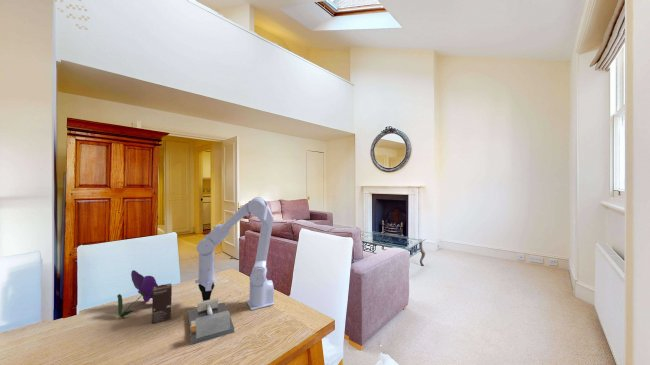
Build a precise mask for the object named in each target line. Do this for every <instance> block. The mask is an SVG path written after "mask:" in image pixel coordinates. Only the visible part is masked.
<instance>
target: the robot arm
mask: <svg viewBox="0 0 650 365" xmlns="http://www.w3.org/2000/svg"><path fill="white" fill-rule="evenodd" d="M269 206H270V205H269V204H268V202H267V201H266V200H265V199H264V198H262V197H260V196H256V197H254V198H252V199H251V200H250V201H248V202H247V203H245V204H244V205H242V206H241V207H240V208H239V209H238V210H237V211H236V212H234V214H233V215H232V216H230V217H229V218H228V220H226V221H225V223H219V224H215V225H214V226H213V227H212V228H213V229H212V230H211V231H210V232H208V234H205V235H204V238H202V240H199V242H198V244H197V245H196V251H197V253H198V279H195V281H194V282H195V284H197V286H198V289H199V291H200V293H201V297H202V301H206V300H210V299H211V297H212V293H213V290H214V288H215V286H216V285H215V280H216V277H215V248H216V247H217V246H218V245H220V244H221V243H222V242H223V241H224V240H225V239H226V238H227V237H228V236H229V235H230V232H231V230H230V229H232V228H233V226H235V225H236V224H237V223H238V222H239V221H241V220H242V218H244V217H248V216H250V215H251V214H252V215H253V216H255V217H257V219H258V220H259V222H261V225H260V232H259V238H258V242H257V243H258V244H257V250H256V255H255V259H254V260H255V261H254V265H253V266H252V269H251V273H250V275H249V299H247V300H246V303H247V305H248V307H249V310H251V311H254V310H257V309H262V308H265V307H270V306H274V305H275V301H274V299H275V298H274V297H275V296H274V293H275V290H274V289H275V288H274V283H273V280H272V279H268V278H267V273H268V267H267V259H268V253H269V248H270V241H271V236H272V230H273V224H274V215H273V213H272V211H271V209H270V207H269Z"/></svg>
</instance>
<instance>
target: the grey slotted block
mask: <svg viewBox="0 0 650 365" xmlns="http://www.w3.org/2000/svg"><path fill="white" fill-rule="evenodd" d="M218 304H219V298H218V297H215V298H212V299H211V298H210V300H206V301H203V300H201V301H197V308H198V312H199V311H204V310H207V314H208V315H211V314H213V313H212V308H217V307H218Z"/></svg>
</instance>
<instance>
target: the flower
mask: <svg viewBox="0 0 650 365" xmlns="http://www.w3.org/2000/svg"><path fill="white" fill-rule="evenodd" d="M130 273H131V274H130V275H131V276H130V278H131V281H132V283H133V286H134V288H135V289H136V290H137V293H138V294H140V296H139V297H138V298H137V299H136V300H135V301H133V303H131V304H130V305H129V306H128V308H127V309H125V310H124V311H123V307H124V306H123V304H124V302H123V296H122V294H121V293H119V294H117V295H116V296H117V297H116V298H117V307H118V308H117V311H118V315H119V316H120V317H122V318H123V317H125V316H127V315H130V314H132V313H133V312H134V310H128V309H130V308H131V306H132V305H133V304H135V303H136V302H138V300H140V298H141V297H142V299H143V301H144V302H149V301H150V300H151V299H152V289H153V287H154V286H159V284H158V283H157V281H156V278H155V277H154V276H152V275H145V276H144V275H143V274H141V273H139V272H138V271H137V270H135V269H133V270H131V272H130Z"/></svg>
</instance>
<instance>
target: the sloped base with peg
mask: <svg viewBox="0 0 650 365" xmlns="http://www.w3.org/2000/svg"><path fill="white" fill-rule="evenodd" d="M187 313H188V315H187V316H188V326H189V327H188V328H189V338H190V339H189V340H190V345H195V344H199V343H202V342H205V341H209V340H213V339H217V338H220V337H223V336H226V335H230V334H233V333H235V326H234V324H233V321H232V319H231V315H230V311H229V310H228V308H227V305H226V302H224V301H223V302H220V303H219V302H218V307H217V308H212V313H213V314H211V315H208V314H207V310H204V311H199V312H198V307H196V308H193V309H189V310H188V311H187ZM194 325H196V329H195V330H191V326H194Z"/></svg>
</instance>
